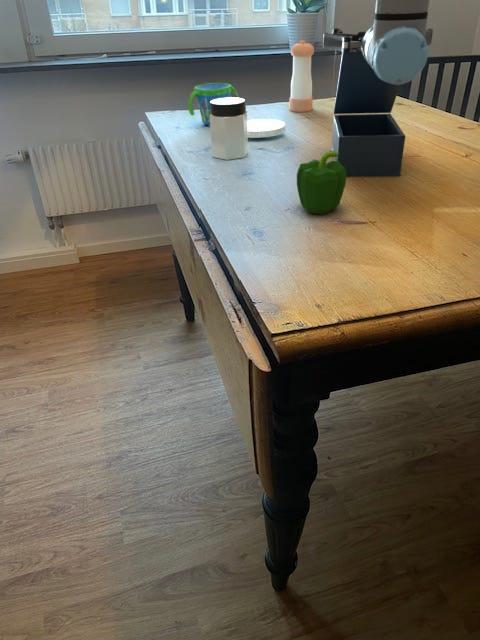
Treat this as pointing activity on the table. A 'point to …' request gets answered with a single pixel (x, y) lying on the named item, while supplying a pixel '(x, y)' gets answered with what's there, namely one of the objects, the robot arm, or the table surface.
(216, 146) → the jar
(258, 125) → the plastic lid
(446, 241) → the table surface
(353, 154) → the box
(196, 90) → the snack cup
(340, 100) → the lunchbox lid
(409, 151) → the table surface
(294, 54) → the pepper shaker
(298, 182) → the bell pepper
